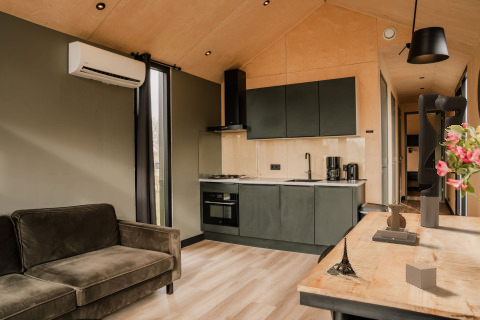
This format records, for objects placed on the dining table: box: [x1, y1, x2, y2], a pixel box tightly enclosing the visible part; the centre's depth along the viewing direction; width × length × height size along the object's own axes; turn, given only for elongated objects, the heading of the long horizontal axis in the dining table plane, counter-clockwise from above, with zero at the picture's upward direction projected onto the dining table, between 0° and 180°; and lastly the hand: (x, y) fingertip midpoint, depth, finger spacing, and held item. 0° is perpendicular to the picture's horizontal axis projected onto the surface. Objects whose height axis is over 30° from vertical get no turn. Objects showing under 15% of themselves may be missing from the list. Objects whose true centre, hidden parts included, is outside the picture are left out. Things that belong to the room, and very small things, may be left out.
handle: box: [387, 203, 404, 232], centre depth 162 cm, size 5×6×15 cm
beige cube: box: [405, 261, 438, 290], centre depth 105 cm, size 6×6×6 cm
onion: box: [386, 213, 407, 229], centre depth 178 cm, size 10×9×10 cm
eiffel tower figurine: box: [326, 235, 357, 281], centre depth 117 cm, size 15×10×13 cm
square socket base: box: [371, 225, 418, 246], centre depth 162 cm, size 18×18×4 cm
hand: (453, 173), depth 159 cm, fingers open, 8 cm apart
